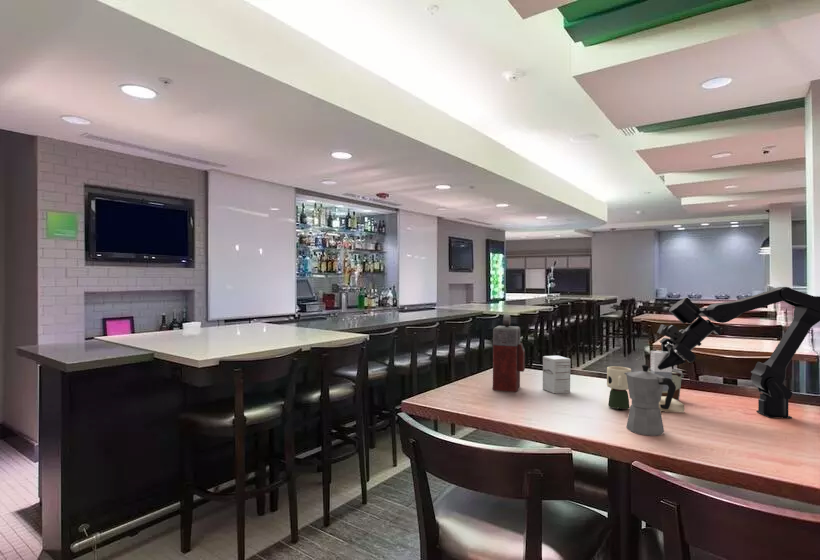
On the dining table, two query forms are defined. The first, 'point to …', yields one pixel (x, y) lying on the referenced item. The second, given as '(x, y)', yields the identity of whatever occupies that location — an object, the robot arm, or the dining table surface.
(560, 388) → the supplement box
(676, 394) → the food container
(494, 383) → the red thermos flask
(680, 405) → the stand
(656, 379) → the coffeepot
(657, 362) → the block
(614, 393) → the character mug
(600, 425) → the dining table surface
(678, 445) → the dining table surface
